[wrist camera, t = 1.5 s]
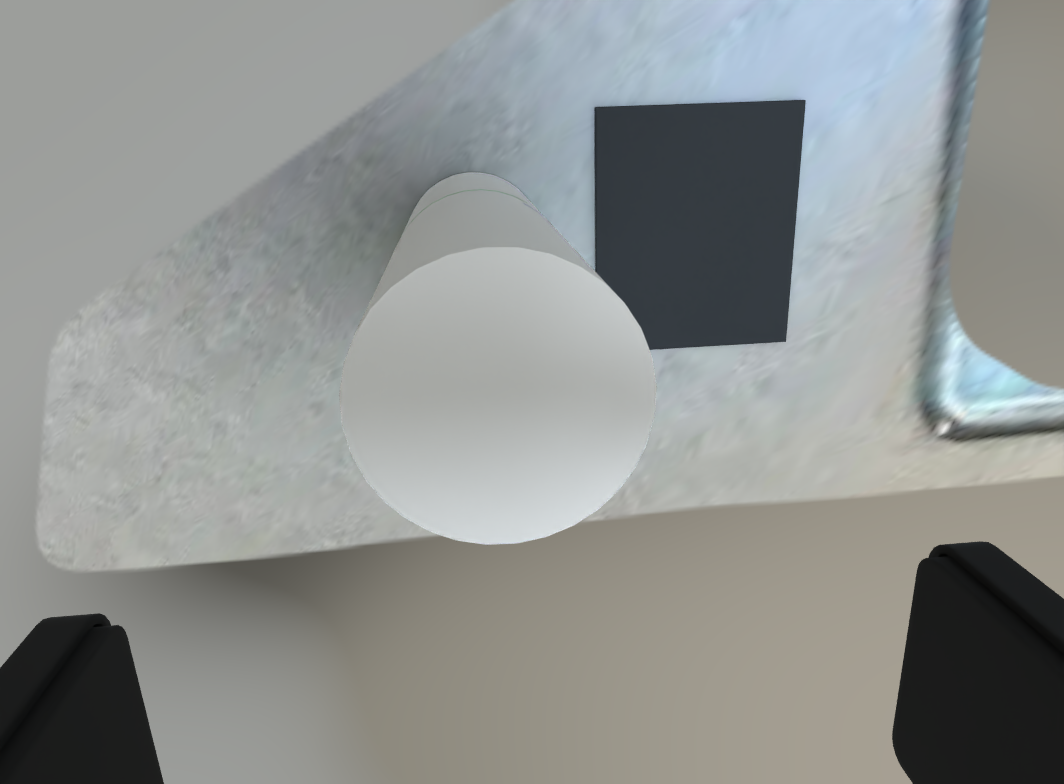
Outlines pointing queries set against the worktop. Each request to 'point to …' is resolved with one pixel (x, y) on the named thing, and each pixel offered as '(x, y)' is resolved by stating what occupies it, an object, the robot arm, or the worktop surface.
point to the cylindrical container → (494, 373)
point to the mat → (699, 217)
